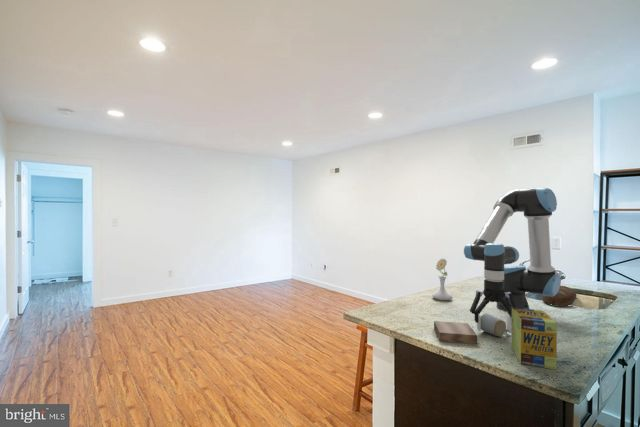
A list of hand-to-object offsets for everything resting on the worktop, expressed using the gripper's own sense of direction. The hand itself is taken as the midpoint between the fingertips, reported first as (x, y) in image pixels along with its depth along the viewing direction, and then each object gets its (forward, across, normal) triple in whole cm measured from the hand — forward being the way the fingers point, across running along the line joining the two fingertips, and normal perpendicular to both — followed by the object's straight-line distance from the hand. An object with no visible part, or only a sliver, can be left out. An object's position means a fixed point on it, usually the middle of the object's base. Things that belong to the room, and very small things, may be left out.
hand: (493, 331), depth 134 cm
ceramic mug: (+1, 0, -1) cm, 2 cm away
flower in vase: (+2, +11, -53) cm, 54 cm away
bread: (+2, -58, -67) cm, 88 cm away
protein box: (+1, -6, +21) cm, 22 cm away
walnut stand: (+1, +17, +6) cm, 18 cm away
